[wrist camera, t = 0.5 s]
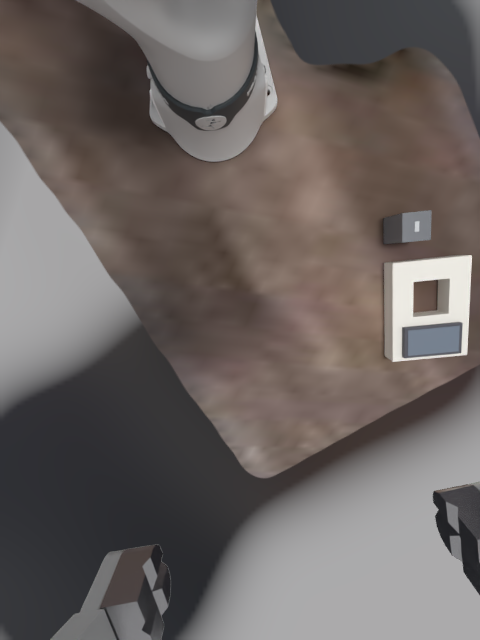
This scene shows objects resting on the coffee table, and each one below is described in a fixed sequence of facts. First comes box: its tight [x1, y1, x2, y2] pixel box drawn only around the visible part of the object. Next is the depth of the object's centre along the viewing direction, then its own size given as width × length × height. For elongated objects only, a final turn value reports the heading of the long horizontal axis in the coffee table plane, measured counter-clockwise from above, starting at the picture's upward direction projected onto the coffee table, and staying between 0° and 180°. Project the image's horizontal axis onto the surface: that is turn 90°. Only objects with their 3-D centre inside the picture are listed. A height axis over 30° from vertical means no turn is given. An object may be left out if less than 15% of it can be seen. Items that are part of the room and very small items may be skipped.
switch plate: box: [384, 255, 472, 362], centre depth 50 cm, size 16×12×4 cm
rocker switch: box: [384, 210, 431, 244], centre depth 47 cm, size 4×4×6 cm
